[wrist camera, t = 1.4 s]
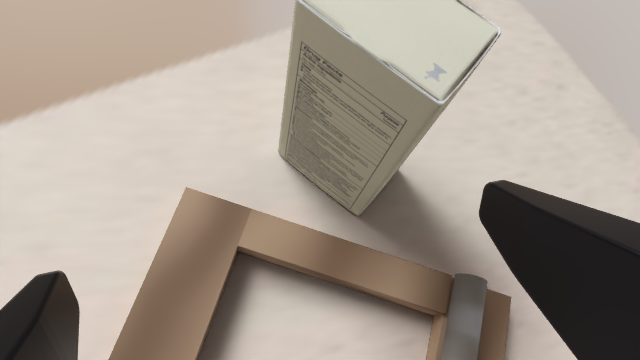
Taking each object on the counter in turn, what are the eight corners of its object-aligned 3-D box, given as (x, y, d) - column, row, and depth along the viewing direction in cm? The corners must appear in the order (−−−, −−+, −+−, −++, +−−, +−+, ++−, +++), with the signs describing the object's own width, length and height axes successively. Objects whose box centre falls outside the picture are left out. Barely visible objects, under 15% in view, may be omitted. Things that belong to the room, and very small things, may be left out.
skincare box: (399, 168, 26) (515, 33, 15) (356, 220, 25) (451, 113, 13) (317, 102, 27) (369, -73, 16) (271, 149, 25) (292, -9, 14)
